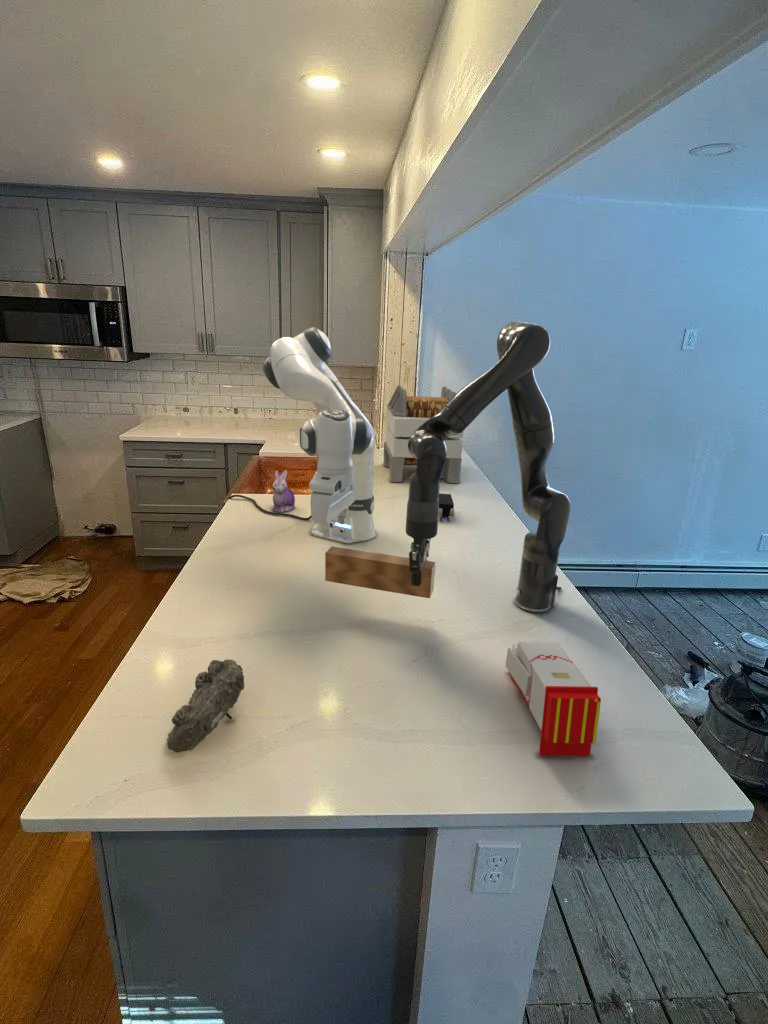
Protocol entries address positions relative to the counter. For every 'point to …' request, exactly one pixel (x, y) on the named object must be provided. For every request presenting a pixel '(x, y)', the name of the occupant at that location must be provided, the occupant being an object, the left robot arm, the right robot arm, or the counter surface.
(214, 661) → the fossil
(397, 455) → the legged crate with fins
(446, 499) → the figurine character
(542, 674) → the toy
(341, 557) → the bar
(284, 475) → the figurine
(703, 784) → the counter surface
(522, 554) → the right robot arm
